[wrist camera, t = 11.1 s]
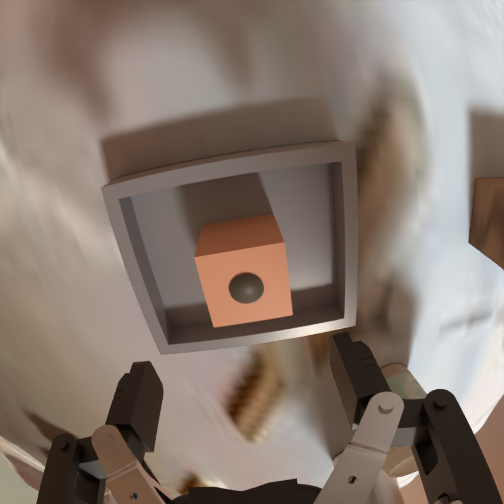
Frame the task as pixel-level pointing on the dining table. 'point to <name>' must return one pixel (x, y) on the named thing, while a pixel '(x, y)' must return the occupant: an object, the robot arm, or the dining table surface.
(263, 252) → the block
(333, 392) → the dining table surface
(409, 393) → the coffee cup
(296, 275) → the tray
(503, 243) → the block
